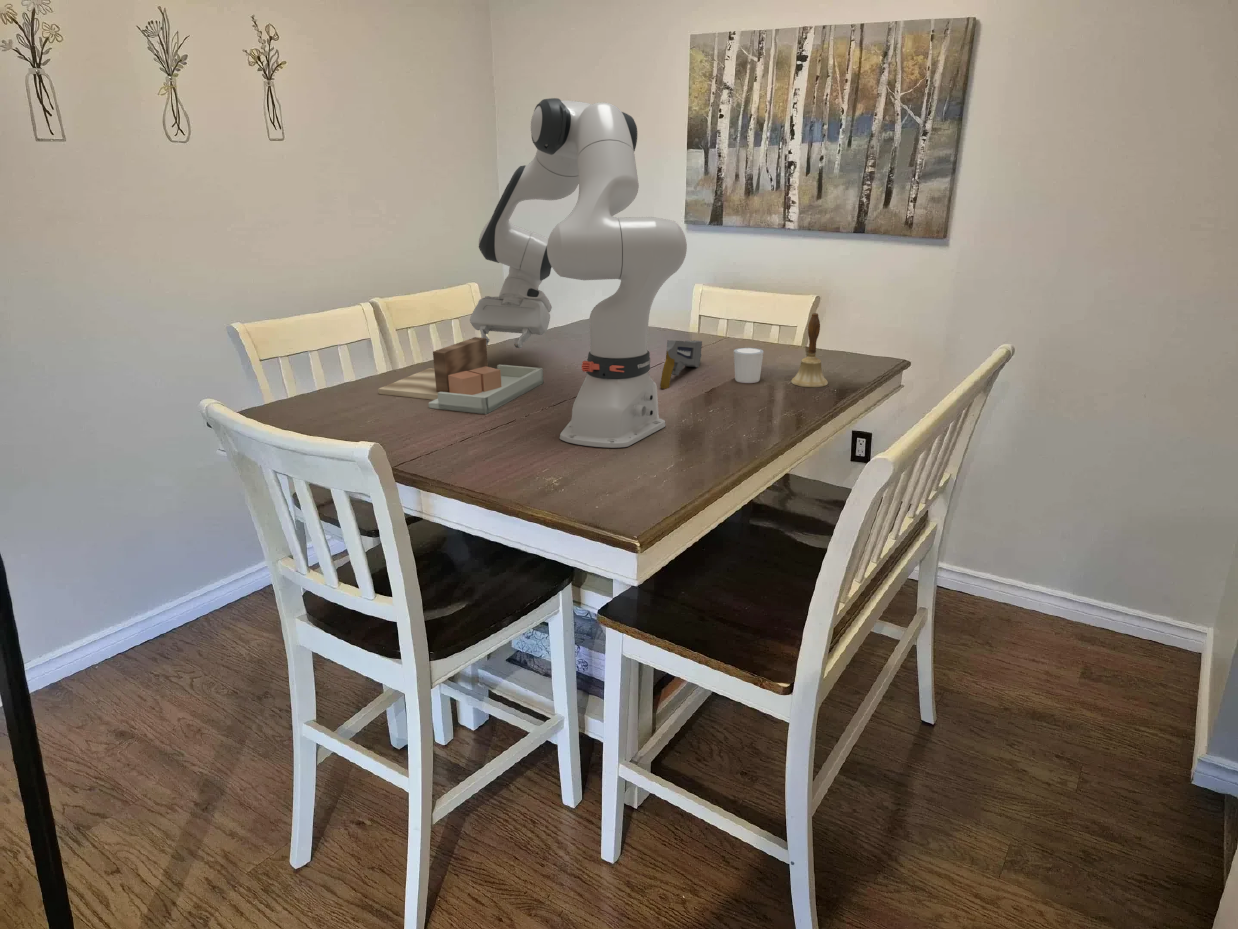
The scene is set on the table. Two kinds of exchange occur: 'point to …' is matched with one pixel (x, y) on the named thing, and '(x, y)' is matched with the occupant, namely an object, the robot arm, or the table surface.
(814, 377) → the hand bell
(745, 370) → the white tapered cylinder
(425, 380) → the board
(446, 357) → the bar
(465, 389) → the terracotta block
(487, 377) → the terracotta square block
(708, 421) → the table surface
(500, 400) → the tray
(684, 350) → the gun
